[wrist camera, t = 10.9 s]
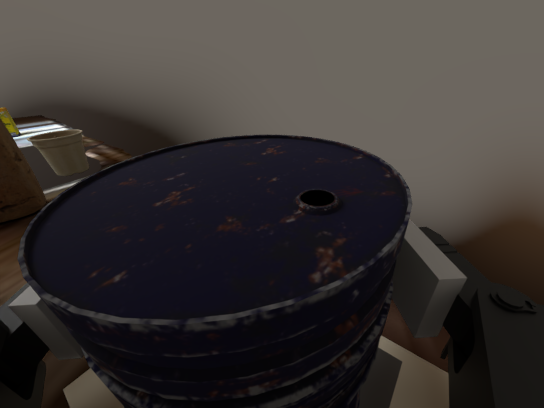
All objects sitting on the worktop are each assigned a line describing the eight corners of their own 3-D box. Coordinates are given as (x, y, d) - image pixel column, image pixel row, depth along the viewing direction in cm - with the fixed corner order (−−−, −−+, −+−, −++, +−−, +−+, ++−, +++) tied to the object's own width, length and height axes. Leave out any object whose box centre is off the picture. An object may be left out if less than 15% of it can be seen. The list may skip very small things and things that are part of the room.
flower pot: (101, 161, 60) (86, 127, 56) (93, 174, 53) (74, 135, 48) (57, 168, 57) (38, 133, 53) (41, 183, 50) (17, 142, 46)
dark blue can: (148, 421, 14) (-27, 203, 6) (254, 302, 21) (229, 127, 13) (293, 625, 9) (252, 740, 1) (372, 374, 15) (441, 151, 8)
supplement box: (-1, 139, 93) (-20, 110, 88) (2, 137, 97) (-16, 108, 92) (19, 136, 96) (2, 108, 91) (21, 134, 100) (5, 106, 95)
